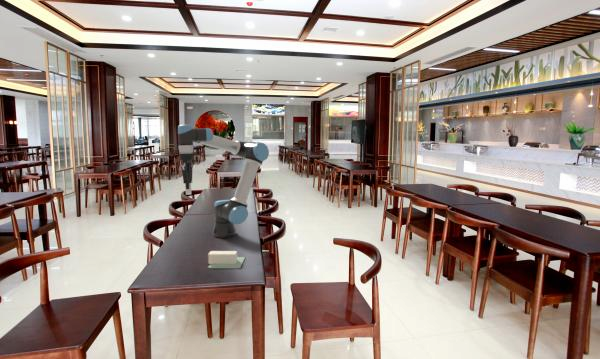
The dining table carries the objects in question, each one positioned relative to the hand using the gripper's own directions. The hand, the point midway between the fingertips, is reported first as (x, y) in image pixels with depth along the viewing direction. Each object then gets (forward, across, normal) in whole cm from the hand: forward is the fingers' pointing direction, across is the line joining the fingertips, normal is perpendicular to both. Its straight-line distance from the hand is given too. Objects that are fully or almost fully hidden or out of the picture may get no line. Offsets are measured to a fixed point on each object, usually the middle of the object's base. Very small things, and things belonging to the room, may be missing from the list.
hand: (188, 194), depth 196 cm
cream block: (+29, +21, +16) cm, 39 cm away
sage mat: (+32, +21, +26) cm, 46 cm away
